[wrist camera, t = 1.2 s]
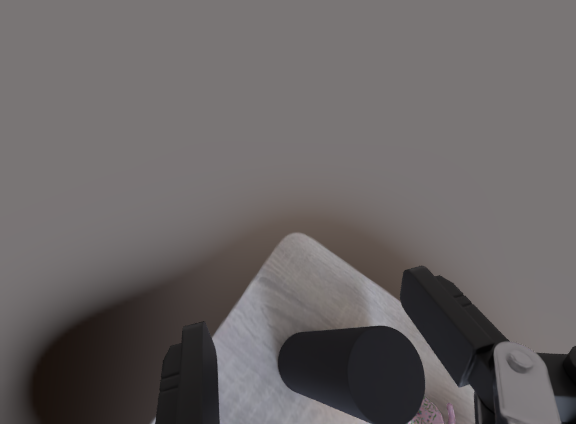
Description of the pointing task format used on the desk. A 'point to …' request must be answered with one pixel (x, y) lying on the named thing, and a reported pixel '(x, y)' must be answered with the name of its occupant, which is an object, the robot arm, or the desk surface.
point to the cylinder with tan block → (356, 372)
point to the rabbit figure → (432, 414)
